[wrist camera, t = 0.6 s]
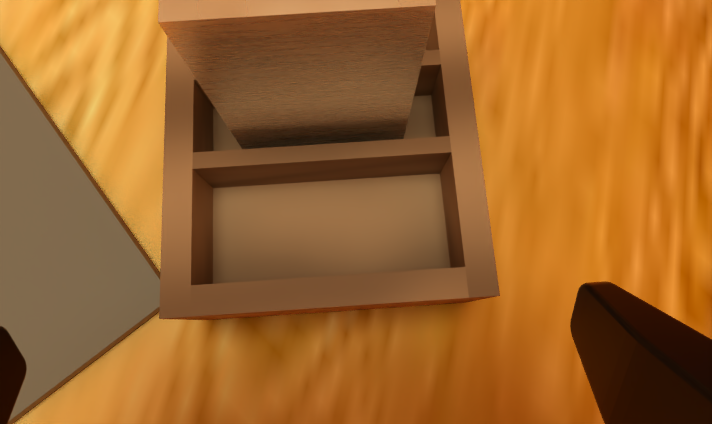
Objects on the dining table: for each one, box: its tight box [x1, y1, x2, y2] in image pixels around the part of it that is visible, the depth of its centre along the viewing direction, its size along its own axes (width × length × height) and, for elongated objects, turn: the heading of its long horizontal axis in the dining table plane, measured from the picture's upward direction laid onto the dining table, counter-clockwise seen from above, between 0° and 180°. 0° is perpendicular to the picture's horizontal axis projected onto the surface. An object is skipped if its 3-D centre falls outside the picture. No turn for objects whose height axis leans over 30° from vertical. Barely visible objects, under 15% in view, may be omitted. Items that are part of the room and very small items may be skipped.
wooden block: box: [158, 0, 436, 149], centre depth 15 cm, size 2×6×9 cm, turn 94°
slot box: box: [159, 0, 500, 320], centre depth 19 cm, size 14×11×5 cm
